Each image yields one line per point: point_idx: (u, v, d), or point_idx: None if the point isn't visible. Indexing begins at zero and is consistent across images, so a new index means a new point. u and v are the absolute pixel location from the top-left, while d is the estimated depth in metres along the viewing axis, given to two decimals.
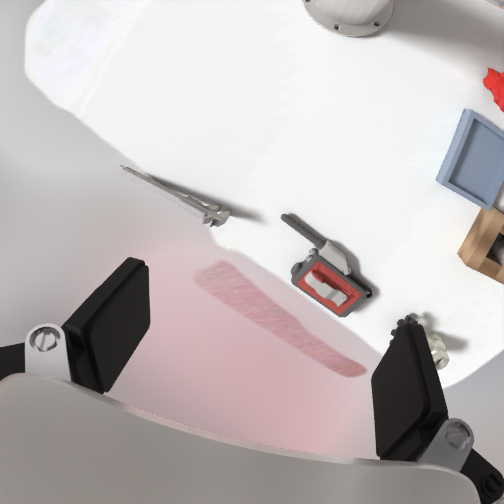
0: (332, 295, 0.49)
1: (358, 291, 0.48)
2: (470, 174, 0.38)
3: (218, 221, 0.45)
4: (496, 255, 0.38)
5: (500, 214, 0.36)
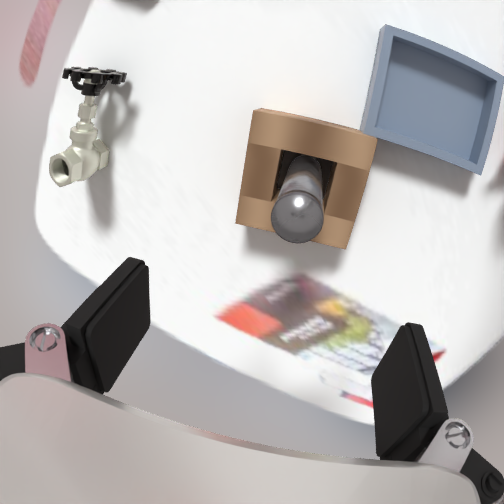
0: None
1: None
2: (408, 89, 0.23)
3: None
4: (293, 169, 0.24)
5: (371, 152, 0.23)
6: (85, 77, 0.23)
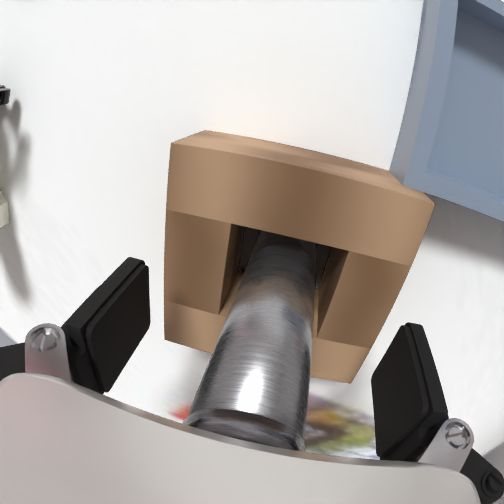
0: None
1: None
2: (479, 97, 0.11)
3: None
4: (254, 270, 0.12)
5: (419, 231, 0.11)
6: None
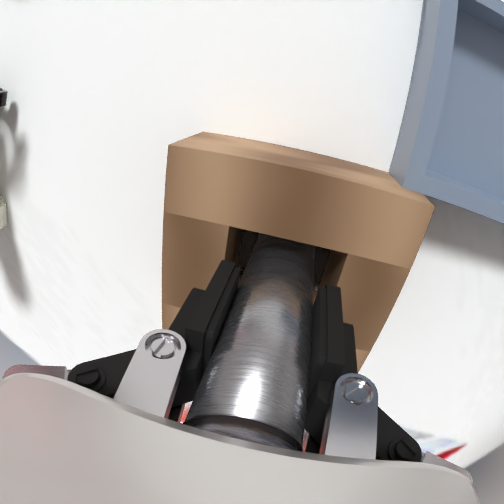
0: None
1: None
2: (479, 97, 0.10)
3: None
4: (252, 273, 0.12)
5: (419, 234, 0.11)
6: None
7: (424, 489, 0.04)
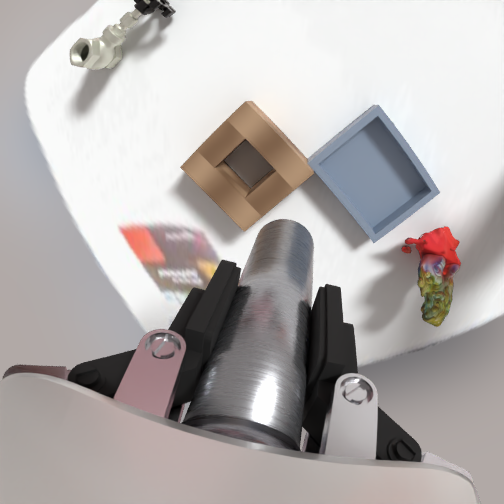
0: None
1: None
2: (361, 155, 0.33)
3: None
4: (251, 274, 0.12)
5: (303, 179, 0.32)
6: None
7: (424, 489, 0.04)
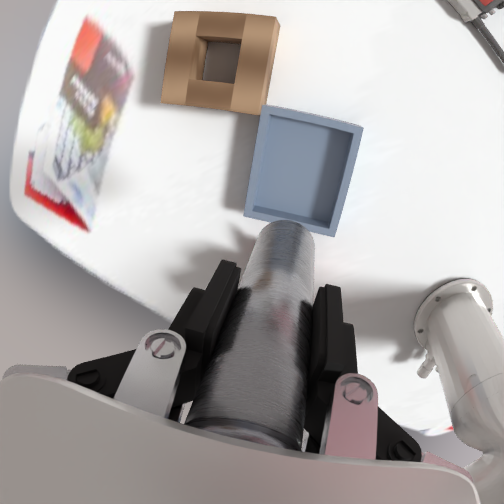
0: None
1: None
2: (307, 146, 0.32)
3: None
4: (252, 275, 0.12)
5: (245, 111, 0.28)
6: None
7: (424, 489, 0.04)
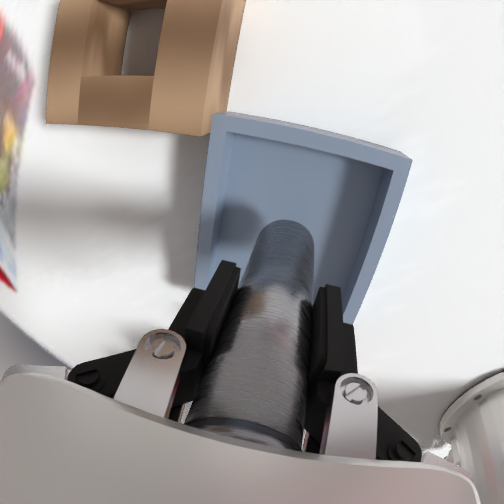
0: None
1: None
2: (303, 189, 0.17)
3: None
4: (252, 274, 0.12)
5: (176, 128, 0.14)
6: None
7: (424, 489, 0.04)
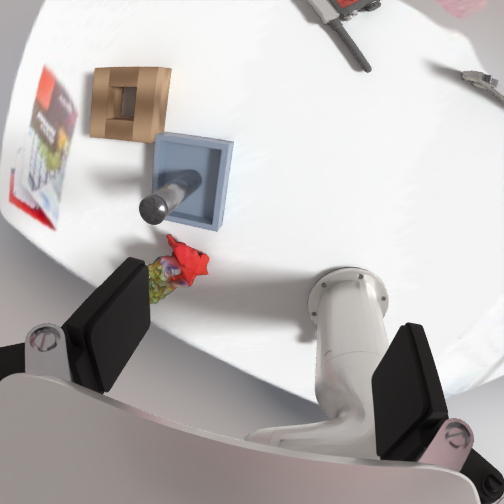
0: None
1: None
2: (194, 161, 0.41)
3: (481, 78, 0.25)
4: None
5: (142, 140, 0.38)
6: None
7: (424, 489, 0.04)
